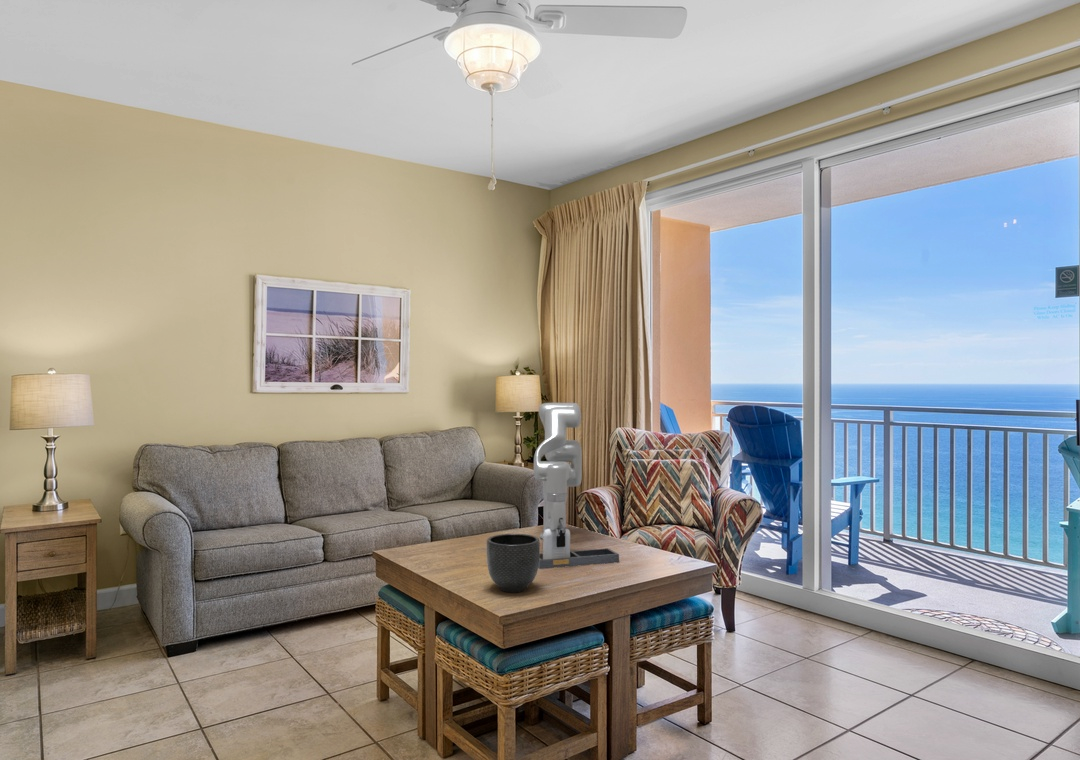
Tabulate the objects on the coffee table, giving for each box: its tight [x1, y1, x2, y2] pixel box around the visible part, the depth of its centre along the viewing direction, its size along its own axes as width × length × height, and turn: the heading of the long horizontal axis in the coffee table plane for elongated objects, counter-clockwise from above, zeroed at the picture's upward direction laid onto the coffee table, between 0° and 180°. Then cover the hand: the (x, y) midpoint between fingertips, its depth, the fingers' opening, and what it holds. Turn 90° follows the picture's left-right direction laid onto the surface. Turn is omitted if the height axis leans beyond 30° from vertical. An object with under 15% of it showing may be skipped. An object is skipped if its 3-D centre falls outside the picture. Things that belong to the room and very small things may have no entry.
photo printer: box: [542, 528, 571, 560], centre depth 250 cm, size 10×4×12 cm, turn 100°
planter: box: [486, 533, 541, 593], centre depth 219 cm, size 17×17×16 cm
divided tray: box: [538, 547, 620, 570], centre depth 252 cm, size 10×31×3 cm, turn 108°
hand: (556, 543), depth 250 cm, fingers open, 9 cm apart
